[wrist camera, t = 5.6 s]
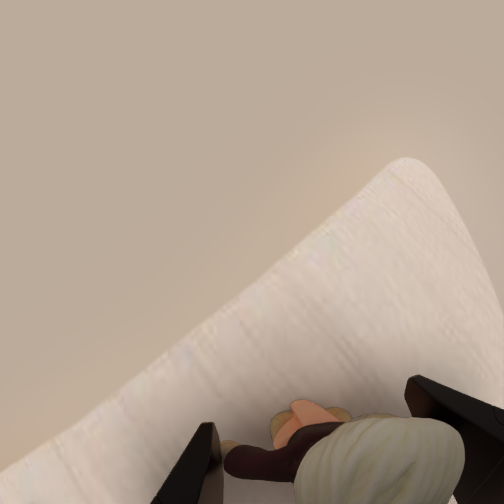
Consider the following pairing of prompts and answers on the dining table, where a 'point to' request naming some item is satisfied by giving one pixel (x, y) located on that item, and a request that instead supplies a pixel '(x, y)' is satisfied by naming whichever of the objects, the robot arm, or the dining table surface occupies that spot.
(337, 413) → the grandmother figurine
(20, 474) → the dining table surface
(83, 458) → the dining table surface
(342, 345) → the dining table surface
